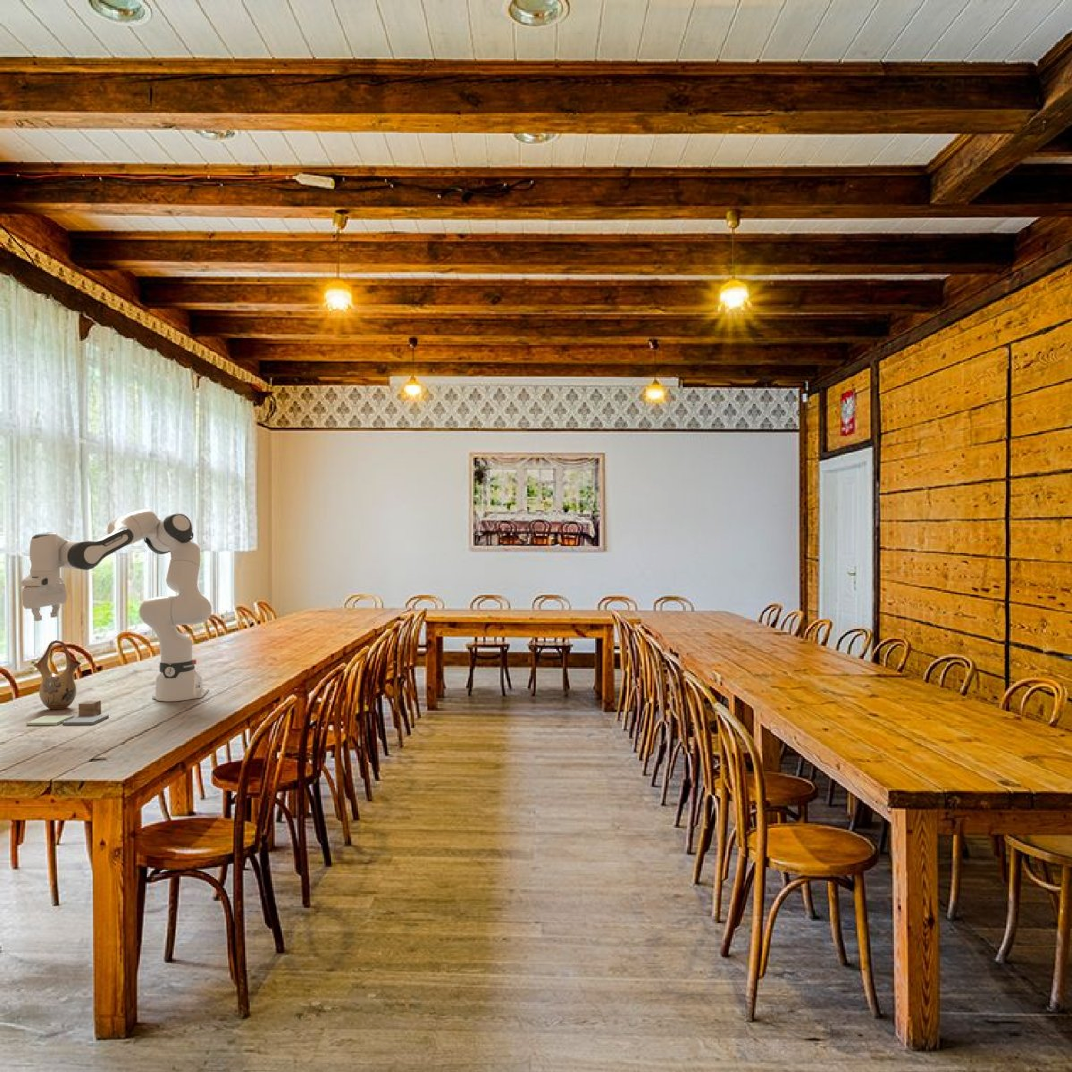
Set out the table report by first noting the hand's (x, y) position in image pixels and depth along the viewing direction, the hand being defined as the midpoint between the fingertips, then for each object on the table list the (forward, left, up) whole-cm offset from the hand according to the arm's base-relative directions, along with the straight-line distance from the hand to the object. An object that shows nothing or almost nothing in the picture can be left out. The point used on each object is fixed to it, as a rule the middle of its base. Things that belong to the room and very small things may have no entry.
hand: (46, 619), depth 279 cm
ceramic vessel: (-11, -3, -34) cm, 36 cm away
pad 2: (+9, +18, -34) cm, 39 cm away
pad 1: (+9, +6, -34) cm, 35 cm away
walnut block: (+1, +15, -34) cm, 37 cm away
